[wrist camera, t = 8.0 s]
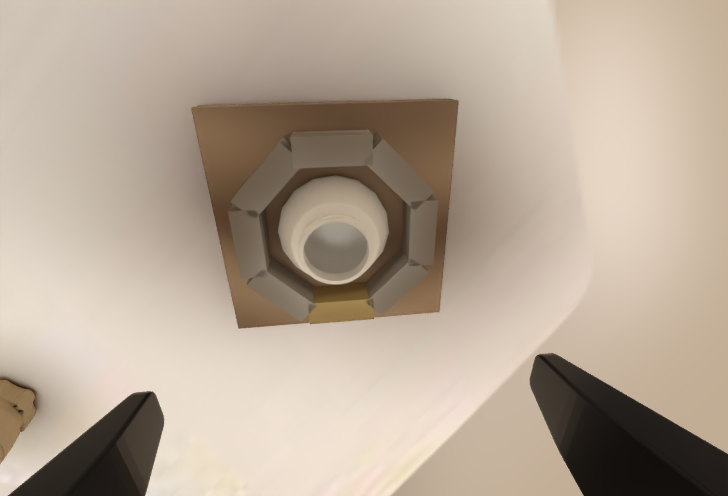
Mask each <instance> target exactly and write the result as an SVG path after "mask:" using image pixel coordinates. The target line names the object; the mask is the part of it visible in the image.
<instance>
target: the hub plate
mask: <svg viewBox="0 0 728 496" xmlns="http://www.w3.org/2000/svg"><path fill="white" fill-rule="evenodd" d="M191 109H192V114H193V118H194V123H195V128H196V132H197V137H198V142H199V146H200V151H201V156H202V160H203V165H204V170H205V174H206V179H207V184H208V188H209V193H210V198H211V202H212V207H213V212H214V216H215V221H216V226H217V230H218V235H219V240H220V244H221V249H222V254H223V258H224V263H225V268H226V272H227V277H228V282H229V286H230V291H231V296H232V300H233V305H234V310H235V314H236V319H237V324H238V328H251V327H263V326H275V325H287V324H299V323H310V324H317V323H329V322H341V321H353V320H365V319H374V317H384V316H396V315H408V314H420V313H432V312H439V310H440V299H441V288H442V277H443V266H444V255H445V244H446V233H447V222H448V211H449V200H450V189H451V178H452V167H453V156H454V145H455V134H456V123H457V112H458V100H452V99H430V100H392V101H355V102H317V103H279V104H242V105H204V106H197V107H193V108H191ZM334 175H337V176H342V177H346V178H350V179H355V180H358V181H359V182H361V183H362V184H364V185H365V186H366V187H368V188H369V189H371V190H372V191H373V192H375V193H376V195H377V197H378V198H379V200H380V202H381V204H382V205H383V207H384V209H385V210H386V212H387V219H388V229H389V234H388V237H387V240H386V244H385V247H384V250H383V252H382V253H381V254H380V256H379V257H378V258H377V259H376V260H375V262H374V263H373V264H372V265H371V266H370V267H369V268H368V269H367V270H366V272H364V273H363V274H362V275H361V276H360V277H358V278H357V279H355V280H353V281H351V282H348V283H344V284H326V283H323V282H320V281H318V280H316V279H314V278H313V277H311V276H310V275H308V274H307V273H305V272H303V271H302V270H300V269H299V268H297V267H296V266H295V265H294V264H293V263H292V261H291V260H290V259H289V257H288V256H287V255H286V254H285V252H284V251H283V249H282V245H281V241H280V237H279V234H278V227H279V222H280V216H281V210H282V208H283V206H284V205H285V203H286V202H287V200H288V199H289V197H290V196H291V195H292V193H293V192H294V190H296V189H298V188H299V187H301V186H302V185H304V184H306V183H307V182H309V181H310V180H312V179H315V178H321V177H327V176H334Z"/></svg>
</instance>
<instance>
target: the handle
mask: <svg viewBox="0 0 728 496" xmlns="http://www.w3.org/2000/svg"><path fill="white" fill-rule="evenodd" d="M34 399H35V395H34V393H33V392H32V391H31V390H29V389H24V388H20V387H18V386H16V385H13V384H12V383H10V382H9V381H8V380H0V464H1V462H2V461H3V460H4V458H5V457H6V455H7V454H8V452H9V451H10V449H11V448H12V446H13V444H14V443H15V441H16V439H17V437H18V436H19V434H20V432H22V431H24V430H25V428H26V427H27V426H28V424H29V423H30V421H31V420H32V418H33V416H34V415H35V413H36V408H35V407H34V405H33V401H34Z"/></svg>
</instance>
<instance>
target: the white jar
mask: <svg viewBox="0 0 728 496" xmlns="http://www.w3.org/2000/svg"><path fill="white" fill-rule="evenodd" d="M278 234H279V237H280V241H281V245H282V249H283V251H284V252H285V254H286V255H287V256H288V257H289V259H290V260H291V261H292V263H293V264H294V265H295V266H296V267H297V268H299V269H300V270H302V271H303V272H305V273H307V274H308V275H310V276H311V277H313V278H314V279H316V280H318V281H320V282H323V283H326V284H344V283H348V282H351V281H353V280H355V279H357V278H358V277H360V276H361V275H362V274H363V273H364V272H366V270H367V269H368V268H369V267H370V266H371V265H372V264H373V263H374V262H375V260H376V259H377V258H378V257H379V256H380V254H381V253H382V252H383V250H384V247H385V244H386V240H387V237H388V234H389V229H388V219H387V212H386V210H385V209H384V207H383V205H382V204H381V202H380V200H379V198H378V197H377V195H376V193H375V192H373V191H372V190H371V189H369V188H368V187H366V186H365V185H364V184H362V183H361V182H359V181H358V180H355V179H350V178H346V177H342V176H337V175H334V176H327V177H321V178H315V179H312V180H310V181H309V182H307V183H306V184H304V185H302V186H301V187H299V188H298V189H296V190H294V192H293V193H292V195H291V196H290V197H289V199H288V200H287V202H286V203H285V205H284V206H283V208H282V210H281V216H280V222H279V227H278Z"/></svg>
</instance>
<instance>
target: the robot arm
mask: <svg viewBox="0 0 728 496" xmlns="http://www.w3.org/2000/svg"><path fill="white" fill-rule="evenodd" d="M530 386H531V389H532V391H533V394H534V396H535V398H536V401H537V403H538V405H539V407H540V410H541V412H542V414H543V417H544V419H545V421H546V423H547V426H548V428H549V430H550V433H551V435H552V437H553V439H554V442H555V444H556V446H557V448H558V450H559V452H560V454H561V456H562V458H563V459H564V461H565V463H566V465H567V467H568V468H569V470H570V472H571V474H572V476H573V477H574V479H575V481H576V483H577V485H578V486H579V488H580V490H581V492H582V494H583V495H584V496H728V454H727V453H725V452H724V451H722V450H720V449H718V448H717V447H715V446H713V445H711V444H710V443H708V442H706V441H705V440H703V439H701V438H699V437H698V436H696V435H694V434H692V433H691V432H689V431H687V430H686V429H684V428H682V427H680V426H679V425H677V424H675V423H674V422H672V421H670V420H668V419H667V418H665V417H663V416H662V415H660V414H658V413H656V412H655V411H653V410H651V409H649V408H648V407H646V406H644V405H643V404H641V403H639V402H637V401H636V400H634V399H632V398H630V397H628V396H627V395H625V394H623V393H622V392H620V391H618V390H616V389H615V388H613V387H611V386H610V385H608V384H606V383H605V382H603V381H601V380H599V379H598V378H596V377H594V376H593V375H591V374H589V373H587V372H586V371H584V370H582V369H581V368H579V367H577V366H575V365H573V364H572V363H570V362H568V361H567V360H565V359H563V358H562V357H560V356H558V355H556V354H554V353H548V354H539V355H537V356H536V357H535V360H534V364H533V368H532V372H531V376H530ZM163 427H164V416H163V413H162V410H161V407H160V405H159V402H158V399H157V397H156V395H155V393H154V392H151V391H147V392H137V393H133V394H131V395H130V396H128V397H127V398H126V399H125V400H123V401H122V402H121V403H120V404H119V405H117V406H116V407H115V408H114V409H113V410H111V411H110V412H109V413H108V414H106V415H105V416H104V417H103V418H102V419H100V420H99V421H98V422H97V423H96V424H94V425H93V426H92V427H91V428H90V429H88V430H87V431H86V432H85V433H83V434H82V435H81V436H80V437H79V438H77V439H76V440H75V441H74V442H73V443H71V444H70V445H69V446H68V447H66V448H65V449H64V450H63V451H62V452H60V453H59V454H58V455H57V456H56V457H54V458H53V459H52V460H51V461H49V462H48V463H47V464H46V465H45V466H43V467H42V468H41V469H40V470H39V471H37V472H36V473H35V474H34V475H32V476H31V477H30V478H29V479H28V480H26V481H25V482H24V483H23V484H22V485H20V486H19V487H18V488H17V489H16V490H14V491H13V492H12V493H11V494H9V495H8V496H145V494H146V491H147V487H148V484H149V480H150V476H151V472H152V468H153V465H154V461H155V457H156V453H157V450H158V446H159V442H160V438H161V435H162V431H163Z"/></svg>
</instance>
